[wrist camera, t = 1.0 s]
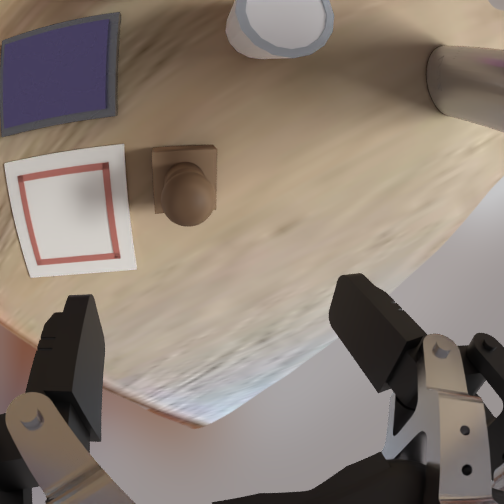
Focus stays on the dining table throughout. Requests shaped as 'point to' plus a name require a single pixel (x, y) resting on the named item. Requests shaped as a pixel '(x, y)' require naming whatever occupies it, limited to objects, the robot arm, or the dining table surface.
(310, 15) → the shot glass
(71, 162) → the print card
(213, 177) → the stamp
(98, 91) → the ink pad
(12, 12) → the dining table surface
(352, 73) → the dining table surface
